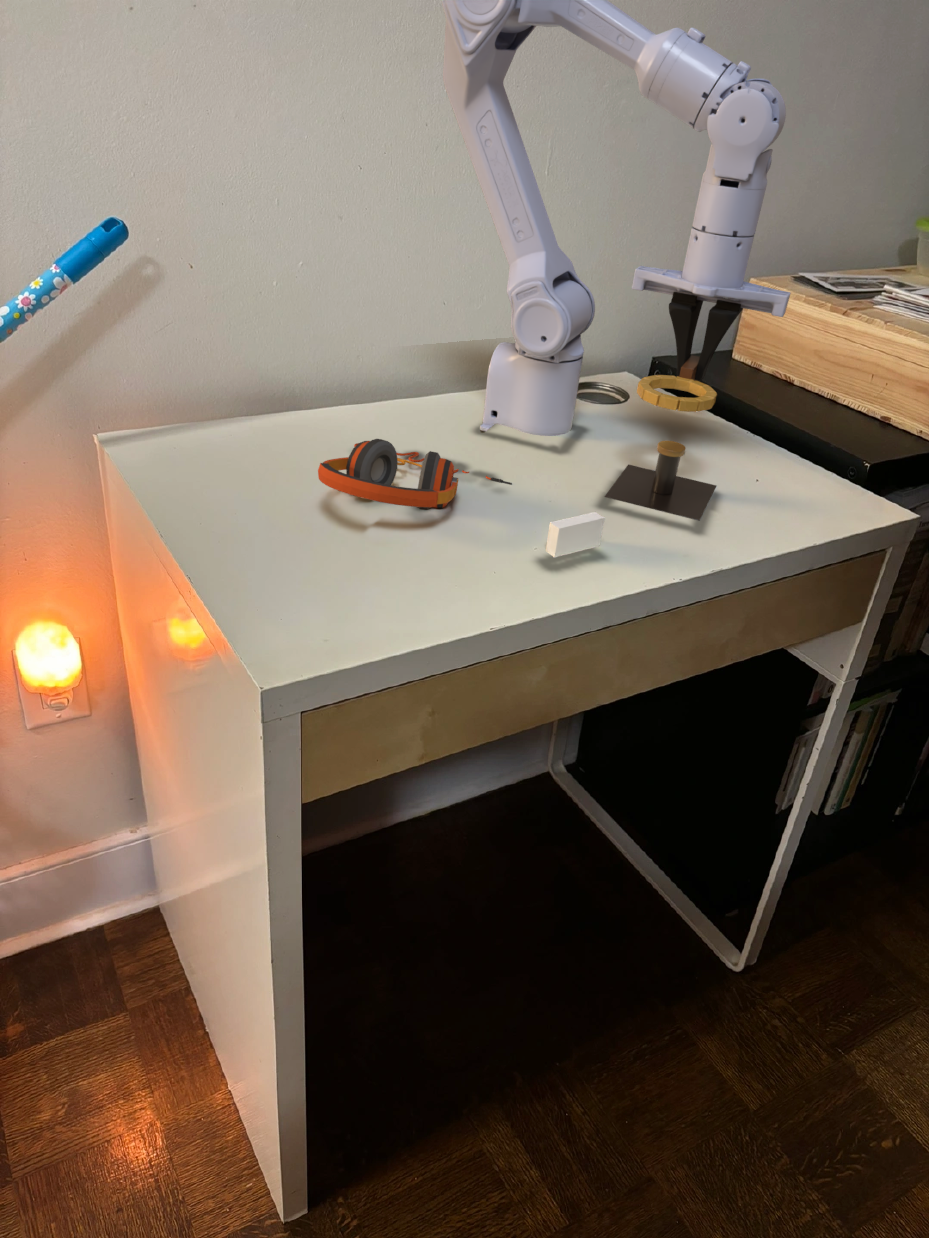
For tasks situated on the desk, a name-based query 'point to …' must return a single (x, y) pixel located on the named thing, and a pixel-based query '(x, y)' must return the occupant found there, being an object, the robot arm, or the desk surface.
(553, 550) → the eraser
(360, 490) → the headphones
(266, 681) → the desk surface
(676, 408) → the ring
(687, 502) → the stand
